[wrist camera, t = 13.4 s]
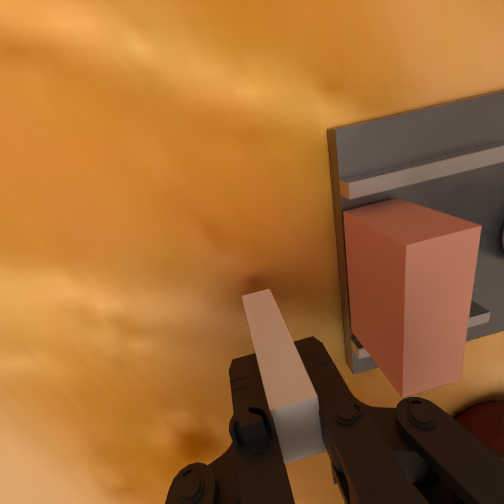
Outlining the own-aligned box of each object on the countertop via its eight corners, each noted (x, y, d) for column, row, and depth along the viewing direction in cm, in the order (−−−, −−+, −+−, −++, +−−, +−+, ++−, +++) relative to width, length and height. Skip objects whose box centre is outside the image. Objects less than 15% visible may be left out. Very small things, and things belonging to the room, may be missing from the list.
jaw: (351, 331, 18) (402, 397, 14) (343, 211, 15) (406, 245, 10) (395, 318, 18) (460, 380, 14) (396, 197, 15) (481, 225, 11)
